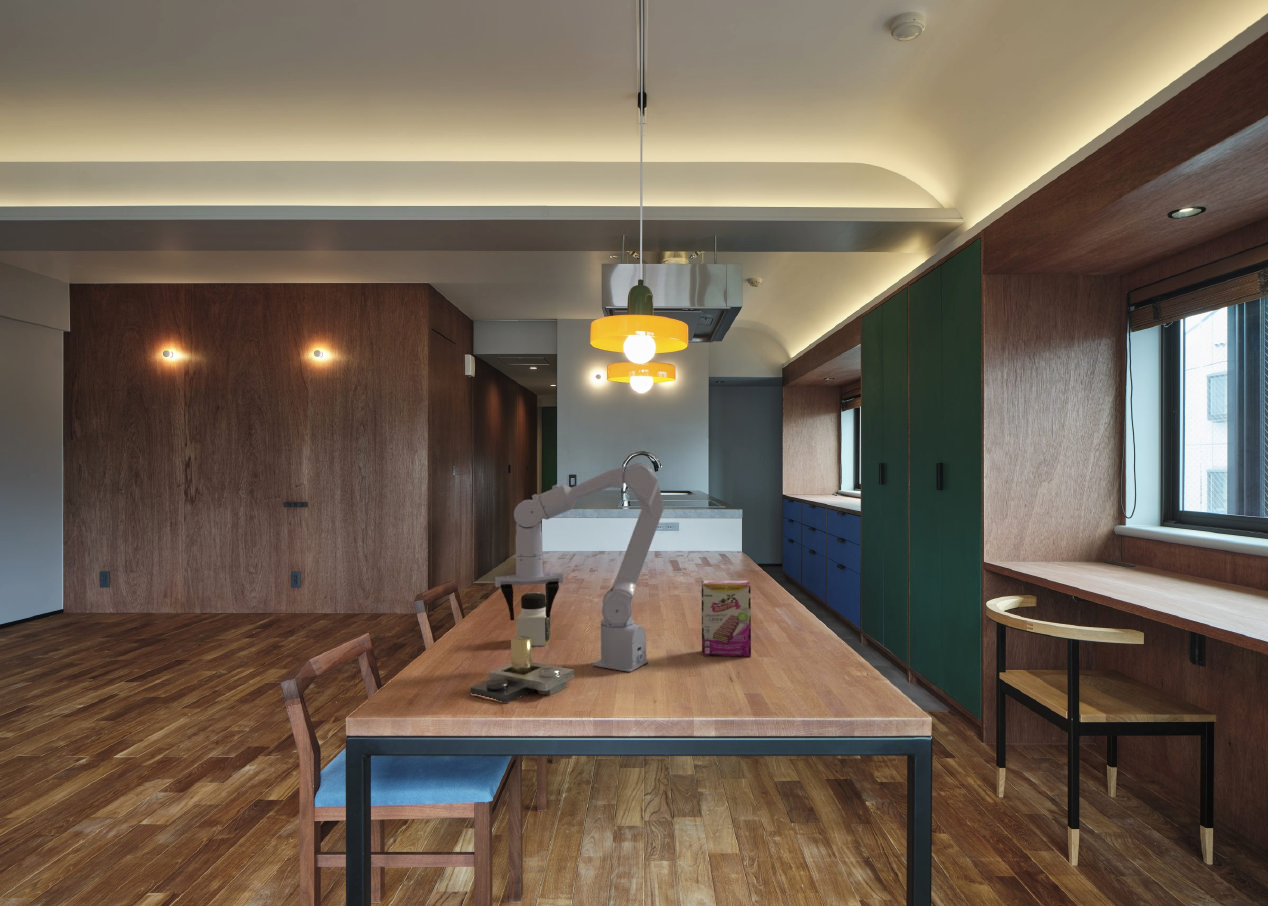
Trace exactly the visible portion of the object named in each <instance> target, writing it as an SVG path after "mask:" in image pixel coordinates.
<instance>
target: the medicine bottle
mask: <svg viewBox="0 0 1268 906" xmlns="http://www.w3.org/2000/svg"><path fill="white" fill-rule="evenodd" d="M520 602H521V603H520V604H521V605H520V607H521V608H520V611H521V612H520V613H519V614H518V615H517V616H516V637H518V636H528V637H531V645H532V647H545V646H547V644H548V643H549V641H550V639H551V617H550V618H547V617H546V594H544V593H542V592H528V593H524V594H523V595H522V596H521V597H520Z"/></svg>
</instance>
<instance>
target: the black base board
mask: <svg viewBox="0 0 1268 906" xmlns="http://www.w3.org/2000/svg"><path fill="white" fill-rule="evenodd" d="M534 691H536V690H535V689H532V688H527V687H522V686H517V685H512V684H508V681H507V680H489V679H488V680H485V681H483V682H480V683H479V684H478V683H477V684H476V685H473V686H471V687H470V694H471V693H472V694H477V695H481V696H485V697H489V698H493V699H496V700H498V701H502V702H506V703H505V704H509V703H511V702H513V701H514V700H513V699H515V700H517V699H519V698H518V697H520V696H522V697H524V696H525V694H526V695H528V694H530V693H533V692H534ZM527 693H528V694H527ZM523 695H524V696H523ZM516 698H517V699H516ZM520 698H521V697H520ZM512 700H513V701H512ZM498 701H497V702H498ZM510 701H511V702H510ZM502 702H501V703H502ZM508 702H509V703H508Z"/></svg>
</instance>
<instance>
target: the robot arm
mask: <svg viewBox="0 0 1268 906" xmlns="http://www.w3.org/2000/svg"><path fill="white" fill-rule="evenodd" d="M624 484H625V486H626V487H627V488H628V489H629V491H631V493H633V494H634V496H635V498H636V501H637V502H638V504H639V506H640V512H639V515H638V517H637V520H636V523H635V526H634V528H633V530H632V534H631V537H630V540H629V542H628V544H627V548H626V550H625V553H624V556H623V558H622V561H621V563H620V566H619V568H618V572H617V574H616V577H615V578H614V580H613V584H612V586H611V588H610V589H609V590H608V591H607V592H606V593H605V594H604V596H603V597H602V607H601V614H602V617H603V618H602V619H601V620H600V659H599V660H597V661H596V662H594V663H592V666H593V667H599V668H605V669H608V670H609V669H611V670H616V671H617V670H618V671H621V672H628V673H630V672H632V671H634V670H637V669H638V668H640V667H641V666H643V665H646V664H647V663H648V662H649V660H648V659H647V635H646V634H647V633H646V631H645V628H644V627H643V626H641V625H637V624H636V623H635V622H634V621H635V620H634V618H633V617H632V613H633V612H632V611H633V609H632V600H633V597H634V594H635V590H636V587H637V583H638V580H639V577H640V575H641V572H642V570H643V568H644V564H645V561H646V558H647V556H648V554H649V550H650V548H651V545H652V543H653V539H654V537H655V534H656V531H657V529H658V526H659V524H660V520H661V517H662V515H663V512H664V508H665V507H664V500H663V498H662V493H661V489H660V485H659V479H658V477H657V476H656V474H655V472H654V471H653V470H652V468H651V467H650V466H649V465H648V464H646V463H643V462H635V463H632V464H629V466H628V467H627V466H622V467H617V468H613V469H610V470H607V471H605V472H603V473H601V474H599V475H597V476H594V477H592V478H590V479H588V480H585V481H583V482H581V483H579V484H576V485H575V486H572V487H570V486H568V485H565V484H561V485H559V484H555V485H552V486H551V489H550V490H547V491H545V492H542V493H540V494H536V493H535V494H532V496H531V497H532V499H524V500H523V501H521V502H519V503H518V504H517V505H516V507H515V509H514V511H513V518H514V521H515V522H516V524H515V525H516V526H515V531H516V534H515V570H516V571H515V573H516V574H512V575H501V576H495V581H494V582H495V584H494V585H495V587H496V588H500V590H501V593H502V595H503V596H504V599H505V602H506V604H507V608H508V612H509V619H510V621H514V620H515V613H514V612H515V611H514V589H513V588H514V587H513V586H524V585H543V584H544V585H545V586H544V587H545V596H546V617H547V618H550V619H551V611H552V607H553V603H554V601H555V598H556V595H557V593H558V591H559V589H560V584H564V573H563V572H557V573H555V572H554V573H553V572H552V573H550V572H548V573H544V569H543V567H544V565H543V561H544V560H543V558H544V556H543V553H544V552H543V533H542V520H547V521H548V520H551V519H552V518H554V517H558V516H559V515H561V514H563V513H566V512H568V511H571V510H573V509H574V508H575V505H576V503H577V501H578V500H581V499H584V498H585V497H586V498H587V497H589V496H591V495H593V494H596V493H599V492H601V491H604V490H606V489H610V488H612V489H613V488H615V489H624Z"/></svg>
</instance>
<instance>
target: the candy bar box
mask: <svg viewBox="0 0 1268 906" xmlns="http://www.w3.org/2000/svg"><path fill="white" fill-rule="evenodd" d="M751 594H752V593H751V583H750V581H749V580H721V579H717V580H716V579H715V580H713V579H712V580H711V579H709V580H708V579H703V580H701V653H702V655H701V656H703V657H706V656H707V657H747V658H748V657H752V622H751V621H752V620H751V619H752V618H751V617H752V616H751V615H752V613H751V608H752V607H751V596H752V595H751Z"/></svg>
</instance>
